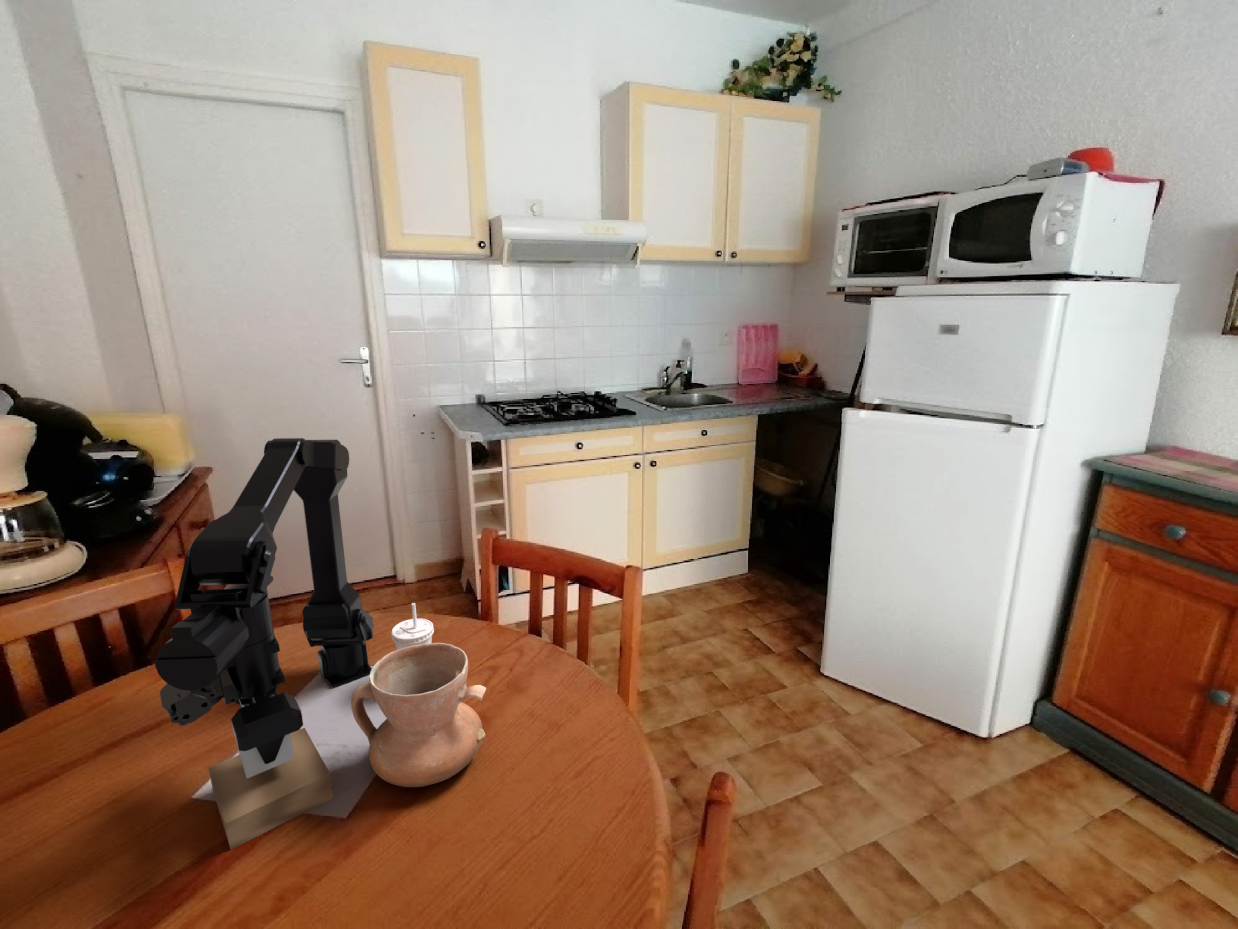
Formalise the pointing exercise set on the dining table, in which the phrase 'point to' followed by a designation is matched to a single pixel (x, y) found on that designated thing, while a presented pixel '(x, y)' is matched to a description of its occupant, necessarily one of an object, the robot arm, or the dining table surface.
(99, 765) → the dining table surface
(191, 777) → the dining table surface
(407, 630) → the smoothie
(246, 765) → the grey cube
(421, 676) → the ceramic jug
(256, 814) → the brown boxy piece
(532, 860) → the dining table surface
